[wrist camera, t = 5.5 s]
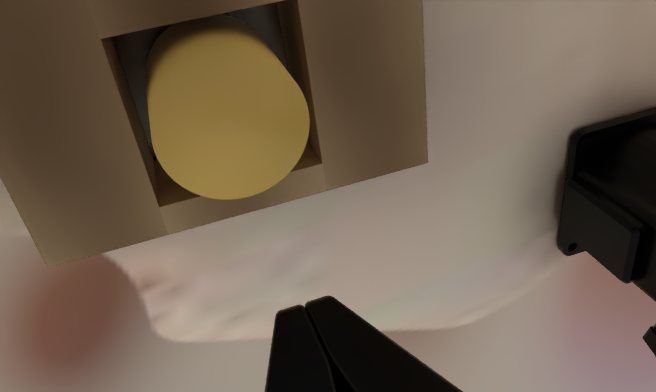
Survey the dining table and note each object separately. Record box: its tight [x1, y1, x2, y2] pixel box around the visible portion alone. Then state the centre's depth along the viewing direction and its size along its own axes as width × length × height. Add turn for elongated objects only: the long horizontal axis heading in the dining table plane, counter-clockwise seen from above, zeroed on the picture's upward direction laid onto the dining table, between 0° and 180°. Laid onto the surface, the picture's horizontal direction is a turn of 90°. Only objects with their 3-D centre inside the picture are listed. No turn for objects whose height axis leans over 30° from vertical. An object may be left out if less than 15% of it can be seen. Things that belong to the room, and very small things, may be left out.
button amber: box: [145, 14, 310, 200], centre depth 16 cm, size 4×4×4 cm
